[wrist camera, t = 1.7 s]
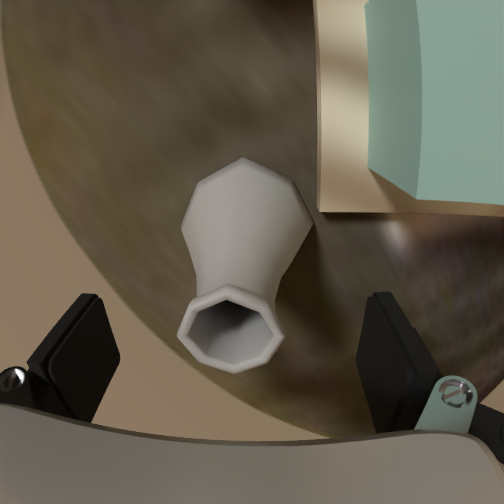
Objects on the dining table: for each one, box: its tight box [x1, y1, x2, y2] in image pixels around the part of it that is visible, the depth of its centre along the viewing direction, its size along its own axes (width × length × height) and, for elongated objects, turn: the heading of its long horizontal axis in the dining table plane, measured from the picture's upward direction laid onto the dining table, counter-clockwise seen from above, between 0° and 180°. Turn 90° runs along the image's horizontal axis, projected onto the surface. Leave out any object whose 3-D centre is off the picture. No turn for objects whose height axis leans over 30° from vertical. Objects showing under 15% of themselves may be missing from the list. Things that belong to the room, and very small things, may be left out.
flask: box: [177, 157, 313, 374], centre depth 14 cm, size 7×7×10 cm
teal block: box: [364, 0, 504, 205], centre depth 11 cm, size 9×9×6 cm
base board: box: [313, 0, 504, 217], centre depth 14 cm, size 14×14×1 cm
